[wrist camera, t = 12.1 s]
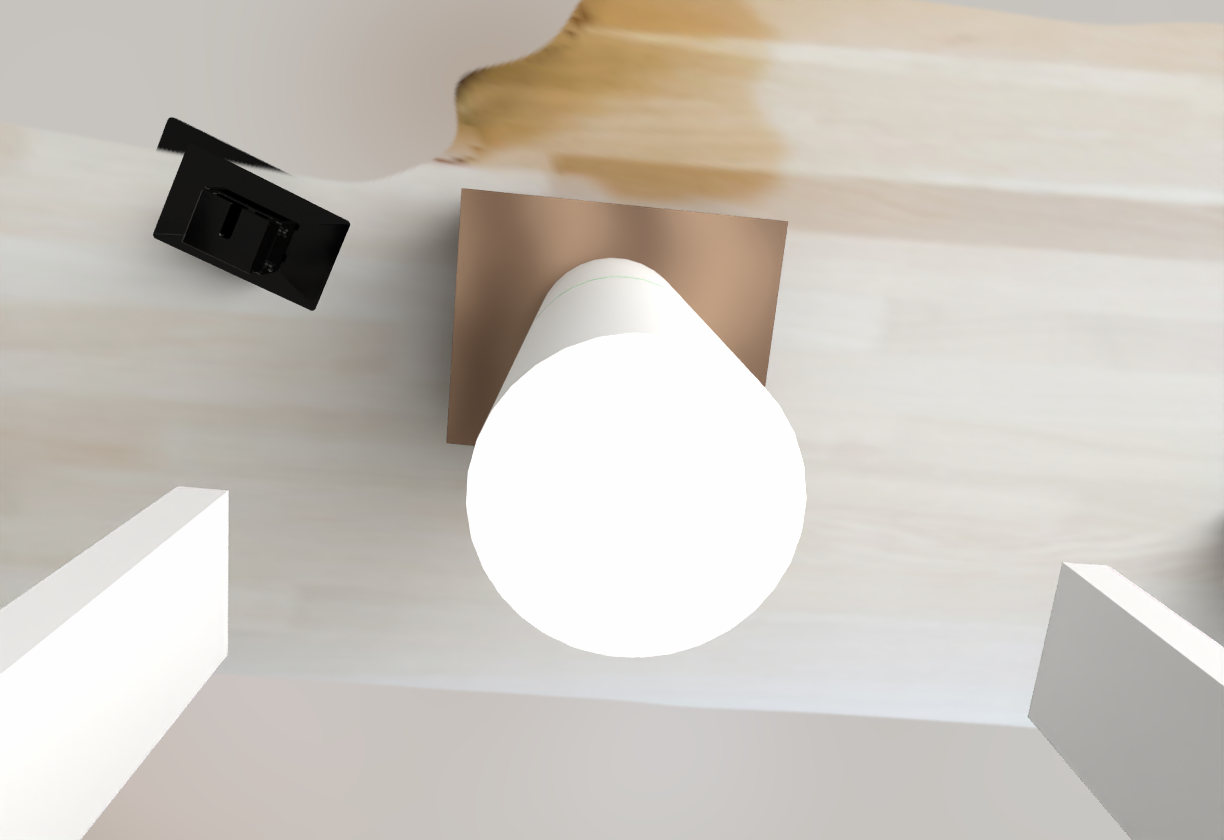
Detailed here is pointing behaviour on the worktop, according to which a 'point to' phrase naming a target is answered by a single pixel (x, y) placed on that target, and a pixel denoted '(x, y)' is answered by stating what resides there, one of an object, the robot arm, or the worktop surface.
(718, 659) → the worktop surface
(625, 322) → the cylindrical container
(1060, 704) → the robot arm
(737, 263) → the brown flat-topped stand
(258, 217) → the black box
